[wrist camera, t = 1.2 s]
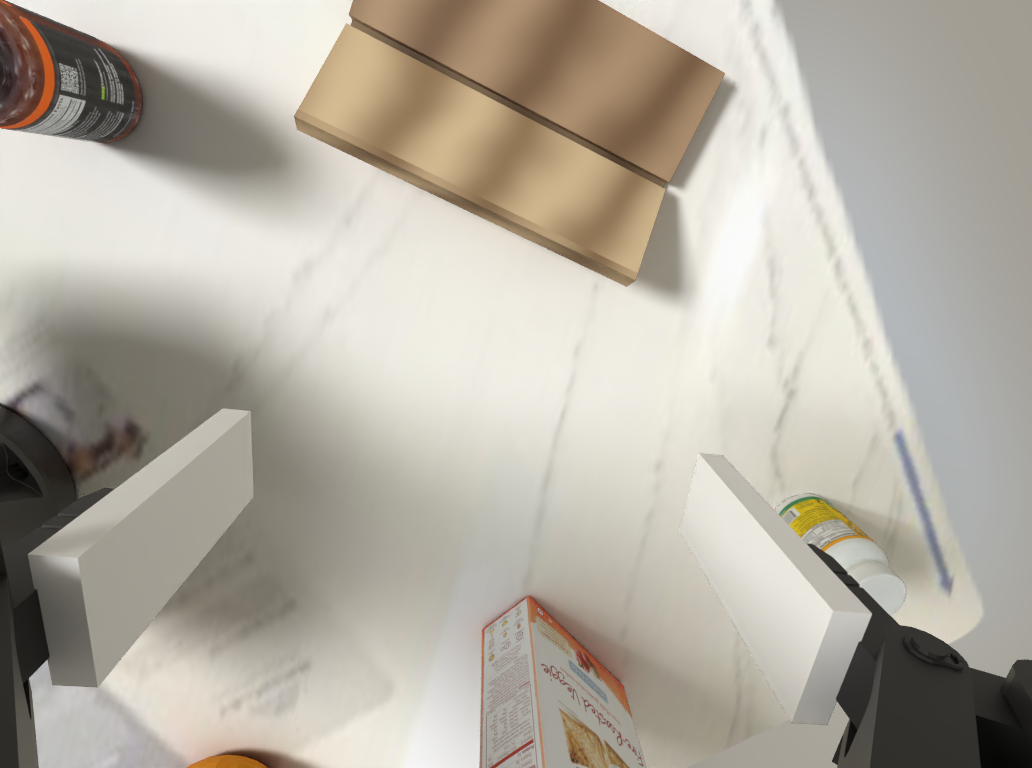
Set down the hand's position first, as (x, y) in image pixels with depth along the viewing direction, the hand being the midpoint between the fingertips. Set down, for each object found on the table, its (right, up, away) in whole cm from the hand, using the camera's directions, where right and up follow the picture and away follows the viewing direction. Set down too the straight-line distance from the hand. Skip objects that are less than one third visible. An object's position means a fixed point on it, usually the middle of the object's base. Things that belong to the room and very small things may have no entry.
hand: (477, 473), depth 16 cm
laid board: (+3, +23, +18) cm, 29 cm away
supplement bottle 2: (+25, -9, +30) cm, 40 cm away
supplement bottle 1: (-25, +21, +18) cm, 37 cm away
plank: (0, +16, +18) cm, 24 cm away
